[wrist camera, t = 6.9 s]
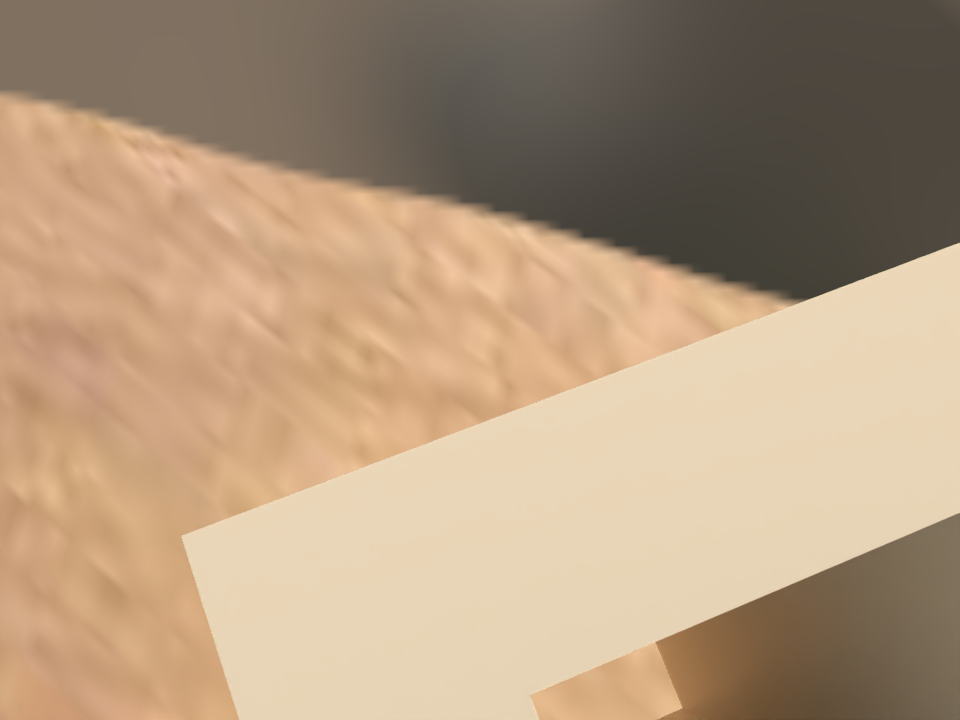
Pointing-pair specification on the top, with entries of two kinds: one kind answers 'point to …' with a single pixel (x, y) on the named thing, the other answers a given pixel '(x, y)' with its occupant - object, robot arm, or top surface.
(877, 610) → the sleeve
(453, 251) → the top surface
